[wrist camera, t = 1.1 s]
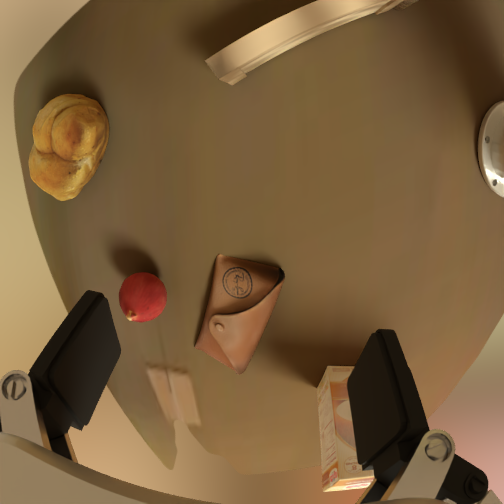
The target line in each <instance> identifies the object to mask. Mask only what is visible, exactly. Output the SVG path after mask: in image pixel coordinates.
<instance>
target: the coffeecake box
mask: <svg viewBox="0 0 504 504" xmlns="http://www.w3.org/2000/svg"><path fill="white" fill-rule="evenodd" d="M354 367H355V366H327V368H326V370H325V373H324V376H323V378H322V379H321V381H320V383H319V385H318V387H317V398H318V410H319V424H320V439H321V457H322V482H323V491H324V492H325V491H336V490H347V489H357V488H365V487H368V486H369V485H370V483H371V482H372V481H373V479H374V470H366V471H362V465H359V464H358V461H357V454H356V446H355V438H354V430H353V423H352V416H351V409H350V403H349V396H348V390H347V381H348V378H349V376H350V374H351V372H352V370H353V369H354Z"/></svg>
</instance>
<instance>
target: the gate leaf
mask: <svg viewBox="0 0 504 504" xmlns="http://www.w3.org/2000/svg"><path fill="white" fill-rule="evenodd" d="M402 1H404V0H317V1H315V2H312V3H310V4H308V5H305V6H303V7H301V8H298V9H296V10H294V11H292V12H290V13H288V14H285V15H283V16H281V17H279V18H277V19H275V20H273V21H271V22H269V23H267V24H266V25H264V26H262V27H260V28H258V29H256V30H254V31H253V32H251V33H249V34H247V35H245V36H244V37H242V38H240V39H239V40H237V41H235V42H234V43H232V44H230V45H229V46H227V47H225V48H224V49H222V50H221V51H219V52H217V53H216V54H214V55H213V56H211V57H210V58H208V59H207V60H205V62H206V63H207V64H208V66H209V67H210V68H211V70H212V71H213V72H214V74H215V75H216V76H217V78H218V79H219V80H221V81H224V82H226V83H229V84H231V85H234V84H235V83H237V82H238V81H240V80H242V79H243V78H245V77H247V75H246V73H247V72H249V71H251V70H252V69H254V68H256V67H258V66H259V65H261V64H263V63H265V62H266V61H268V60H270V59H272V58H274V57H275V56H277V55H279V54H281V53H283V52H285V51H287V50H289V49H290V48H292V47H294V46H296V45H298V44H300V43H302V42H304V41H307V40H309V39H311V38H313V37H315V36H317V35H319V34H322V33H324V32H326V31H328V30H331V29H333V28H335V27H338V26H340V25H343V24H345V23H347V22H350V21H353V20H355V19H358V18H360V17H363V16H366V15H369V14H372V13H375V14H376V15H377V14H380V13H383V12H386V11H389V10H390V9H392V8H393V7H395V6H396V5H398V4H399V3H401V2H402Z"/></svg>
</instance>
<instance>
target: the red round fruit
mask: <svg viewBox="0 0 504 504" xmlns="http://www.w3.org/2000/svg"><path fill="white" fill-rule="evenodd" d="M166 301H167V292H166V289H165V286H164V284H163V283H162V281H161V280H160V279H159V278H158V277H156V276H154V275H153V274H151V273H146V272H140V273H134V274H132V275H131V276H129V277H128V278H126V279H125V280H124V282H123V284H122V286H121V289H120V292H119V302H120V306H121V308H122V310H123V312H124V314H125V315H126V317H127V319H128V320H130V321H136V322H145V321H149V320H153V319H154V318H156V317H157V316H159V315H160V314H161V313H162V311H163V309H164V307H165V305H166Z"/></svg>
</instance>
